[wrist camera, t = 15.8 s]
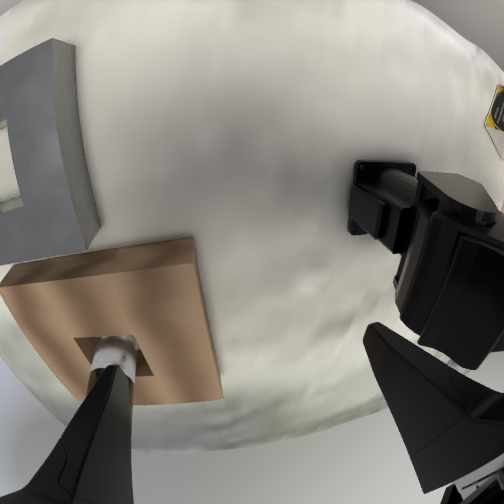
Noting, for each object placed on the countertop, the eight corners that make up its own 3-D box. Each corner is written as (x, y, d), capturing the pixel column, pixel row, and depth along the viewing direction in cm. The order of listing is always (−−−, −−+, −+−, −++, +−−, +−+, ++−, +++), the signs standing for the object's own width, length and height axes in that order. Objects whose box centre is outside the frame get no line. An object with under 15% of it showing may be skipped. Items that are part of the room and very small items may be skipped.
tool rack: (193, 237, 20) (193, 262, 17) (219, 374, 30) (223, 398, 27) (13, 265, 18) (-4, 287, 15) (84, 381, 27) (80, 403, 24)
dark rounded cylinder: (115, 310, 23) (91, 442, 12) (147, 332, 25) (141, 459, 14) (94, 329, 23) (70, 448, 12) (125, 349, 25) (115, 464, 14)
